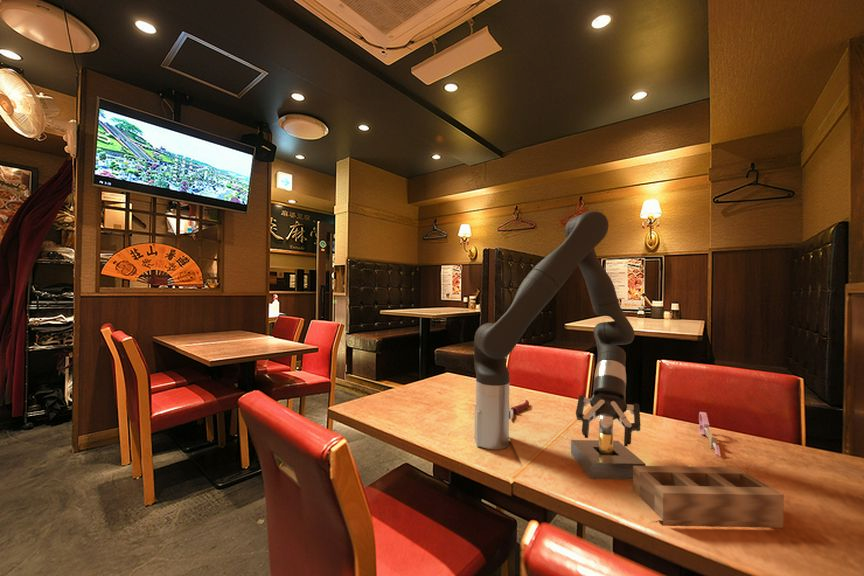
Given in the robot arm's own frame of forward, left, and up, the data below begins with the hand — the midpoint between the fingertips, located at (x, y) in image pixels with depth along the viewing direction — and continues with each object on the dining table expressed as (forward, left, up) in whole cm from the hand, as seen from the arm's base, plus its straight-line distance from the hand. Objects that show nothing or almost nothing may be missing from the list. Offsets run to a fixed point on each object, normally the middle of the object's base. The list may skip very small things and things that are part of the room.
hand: (605, 440), depth 85 cm
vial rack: (+12, -14, -7) cm, 20 cm away
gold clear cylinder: (0, +1, -6) cm, 7 cm away
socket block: (0, +1, -7) cm, 8 cm away
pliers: (-15, +42, -8) cm, 45 cm away
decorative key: (+37, +16, -8) cm, 41 cm away
